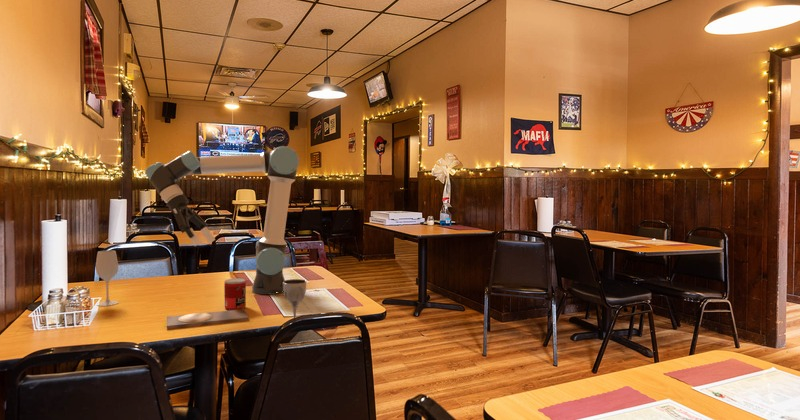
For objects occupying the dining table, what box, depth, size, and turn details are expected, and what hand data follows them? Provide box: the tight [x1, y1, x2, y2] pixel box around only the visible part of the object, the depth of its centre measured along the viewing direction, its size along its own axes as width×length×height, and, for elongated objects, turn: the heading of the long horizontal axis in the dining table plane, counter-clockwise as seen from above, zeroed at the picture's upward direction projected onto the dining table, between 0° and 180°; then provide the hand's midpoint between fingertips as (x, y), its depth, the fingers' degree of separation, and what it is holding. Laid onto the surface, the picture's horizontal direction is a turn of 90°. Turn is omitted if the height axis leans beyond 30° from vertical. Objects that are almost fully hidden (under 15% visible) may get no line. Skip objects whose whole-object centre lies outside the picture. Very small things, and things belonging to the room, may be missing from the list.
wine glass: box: [283, 278, 307, 319], centre depth 165 cm, size 8×8×15 cm
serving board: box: [166, 308, 249, 330], centre depth 168 cm, size 26×12×2 cm, turn 116°
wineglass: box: [95, 249, 119, 307], centre depth 188 cm, size 8×8×21 cm
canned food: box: [223, 277, 247, 311], centre depth 185 cm, size 8×8×11 cm
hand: (205, 242), depth 188 cm, fingers open, 13 cm apart
